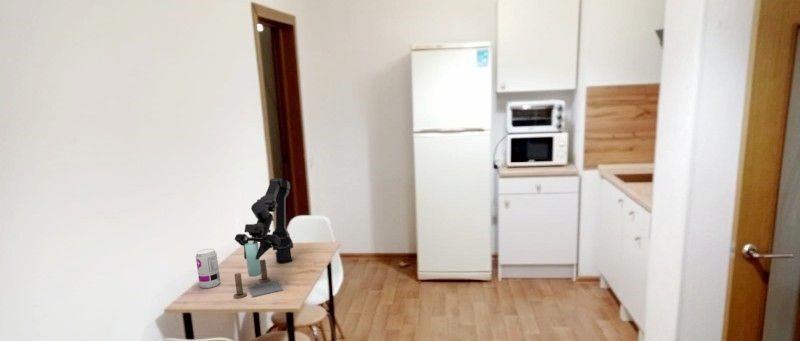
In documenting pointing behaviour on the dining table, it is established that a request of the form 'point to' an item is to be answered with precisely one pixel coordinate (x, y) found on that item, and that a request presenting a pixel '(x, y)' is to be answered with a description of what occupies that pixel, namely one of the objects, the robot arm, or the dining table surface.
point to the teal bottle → (252, 259)
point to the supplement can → (207, 268)
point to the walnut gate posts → (239, 281)
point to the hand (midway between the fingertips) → (250, 259)
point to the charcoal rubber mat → (265, 288)
